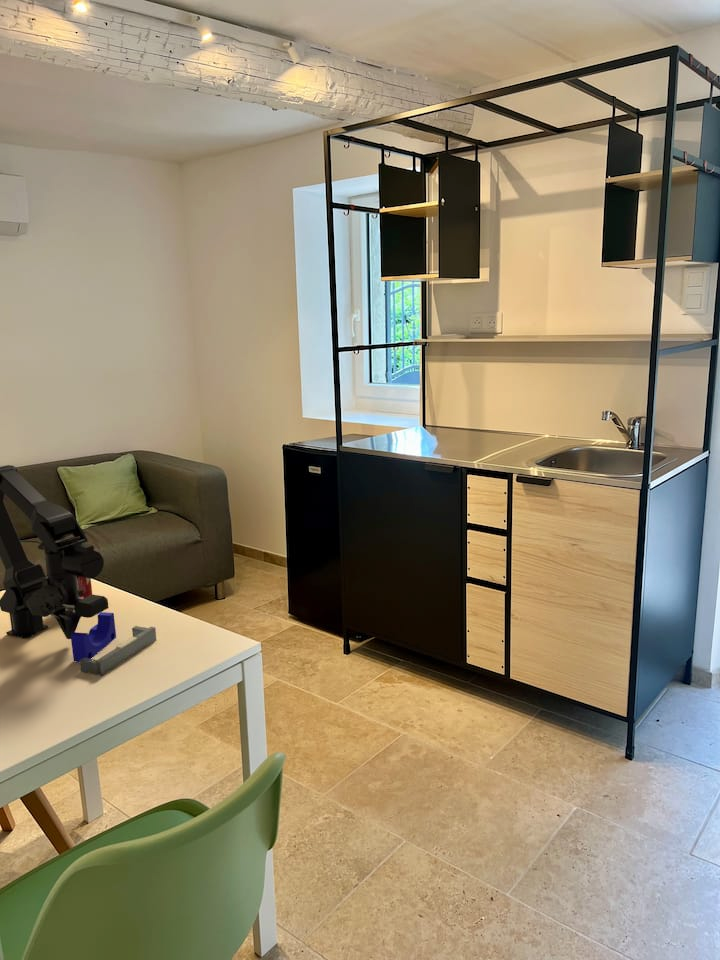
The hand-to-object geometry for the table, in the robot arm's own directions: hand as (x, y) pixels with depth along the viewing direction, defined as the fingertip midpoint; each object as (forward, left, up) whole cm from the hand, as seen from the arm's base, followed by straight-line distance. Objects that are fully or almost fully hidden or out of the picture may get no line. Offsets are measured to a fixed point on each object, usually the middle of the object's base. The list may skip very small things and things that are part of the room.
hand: (69, 638), depth 159 cm
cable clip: (+6, 0, -2) cm, 6 cm away
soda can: (-14, +17, -2) cm, 22 cm away
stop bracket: (+13, 0, -2) cm, 14 cm away
